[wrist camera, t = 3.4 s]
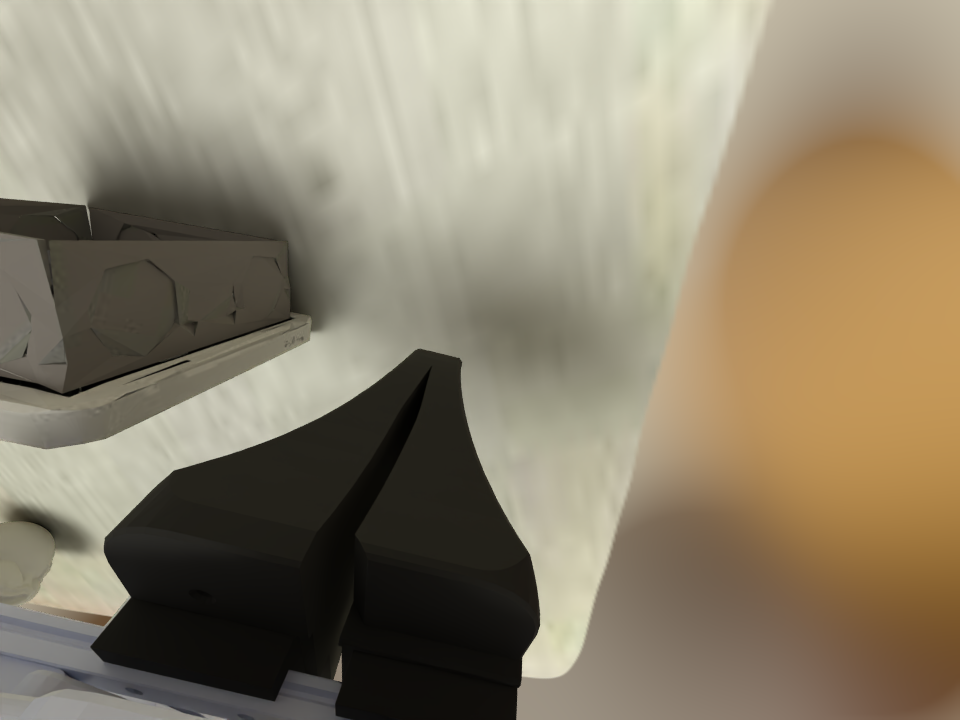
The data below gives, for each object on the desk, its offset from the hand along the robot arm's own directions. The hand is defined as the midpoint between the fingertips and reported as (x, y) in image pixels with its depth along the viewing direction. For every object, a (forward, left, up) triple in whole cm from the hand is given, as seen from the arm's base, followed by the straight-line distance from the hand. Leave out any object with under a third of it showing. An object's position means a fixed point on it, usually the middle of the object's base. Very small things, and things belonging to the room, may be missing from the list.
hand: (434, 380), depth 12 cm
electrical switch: (0, +10, -4) cm, 11 cm away
